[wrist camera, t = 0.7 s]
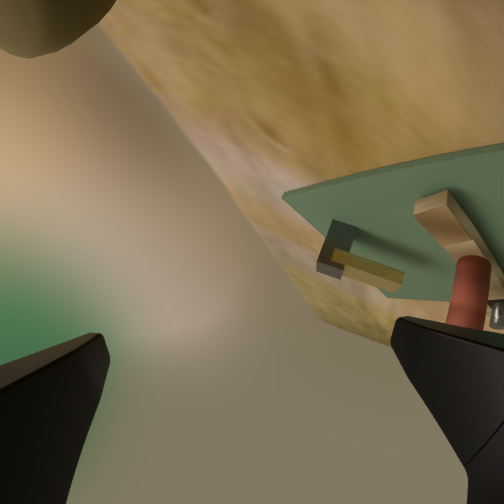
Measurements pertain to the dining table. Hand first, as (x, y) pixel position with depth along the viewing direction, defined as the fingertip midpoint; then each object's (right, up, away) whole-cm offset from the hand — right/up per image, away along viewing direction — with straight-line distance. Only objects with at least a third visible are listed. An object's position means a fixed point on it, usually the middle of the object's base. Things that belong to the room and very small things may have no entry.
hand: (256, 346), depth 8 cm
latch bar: (+19, +2, +11) cm, 22 cm away
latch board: (+17, +3, +15) cm, 23 cm away
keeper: (+11, +4, +18) cm, 22 cm away
